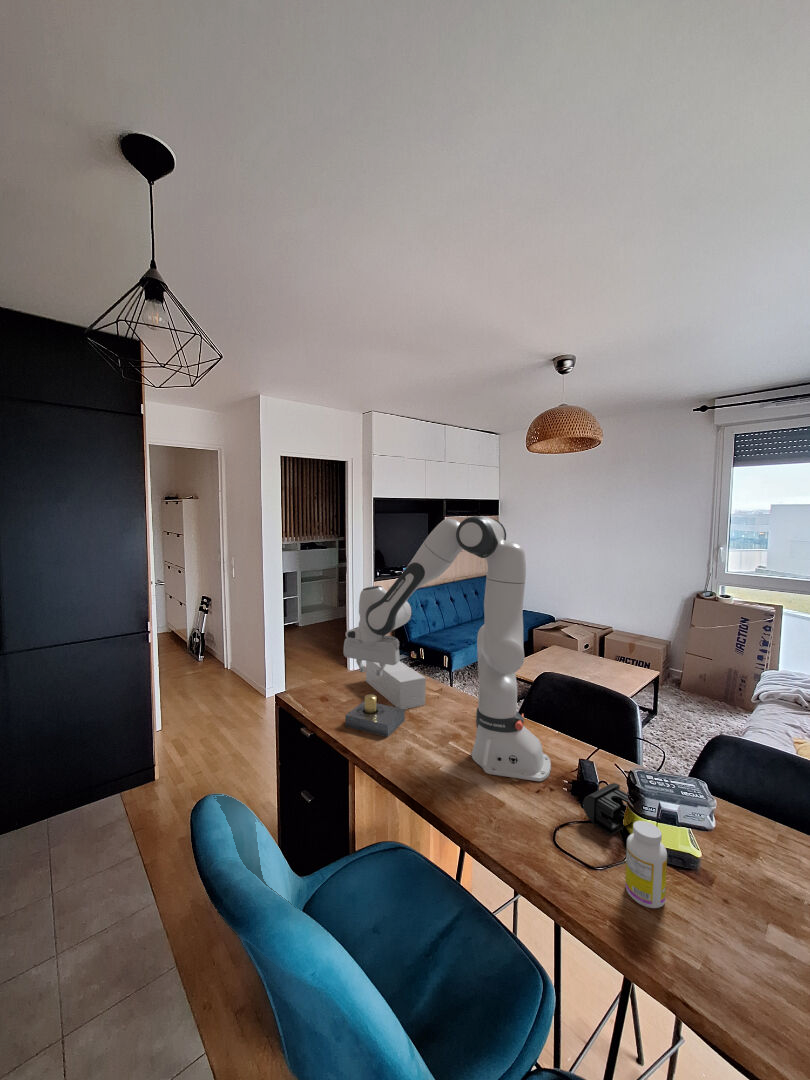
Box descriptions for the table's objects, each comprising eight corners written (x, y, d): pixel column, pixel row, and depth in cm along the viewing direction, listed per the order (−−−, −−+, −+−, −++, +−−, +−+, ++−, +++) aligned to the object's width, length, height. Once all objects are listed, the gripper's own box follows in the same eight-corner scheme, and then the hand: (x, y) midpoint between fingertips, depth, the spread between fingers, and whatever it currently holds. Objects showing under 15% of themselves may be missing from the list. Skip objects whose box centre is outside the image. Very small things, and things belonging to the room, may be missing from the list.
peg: (378, 718, 151) (378, 695, 150) (372, 723, 147) (373, 699, 147) (368, 716, 152) (368, 693, 152) (362, 720, 149) (362, 697, 148)
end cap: (606, 804, 109) (608, 778, 108) (634, 821, 103) (636, 793, 102) (581, 818, 103) (582, 790, 103) (609, 837, 97) (611, 807, 97)
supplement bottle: (651, 880, 86) (654, 816, 85) (673, 910, 79) (676, 841, 78) (618, 880, 85) (620, 817, 85) (637, 910, 79) (640, 842, 78)
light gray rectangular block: (425, 705, 165) (425, 677, 164) (400, 710, 160) (400, 682, 159) (388, 677, 193) (388, 653, 193) (365, 681, 188) (366, 656, 187)
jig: (404, 720, 152) (404, 709, 151) (387, 737, 140) (388, 725, 140) (364, 711, 158) (364, 700, 158) (345, 726, 146) (345, 715, 146)
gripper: (403, 635, 147) (402, 675, 148) (350, 627, 155) (350, 666, 156) (395, 639, 141) (394, 681, 142) (341, 631, 150) (340, 671, 150)
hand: (370, 673), depth 149 cm, fingers open, 5 cm apart
